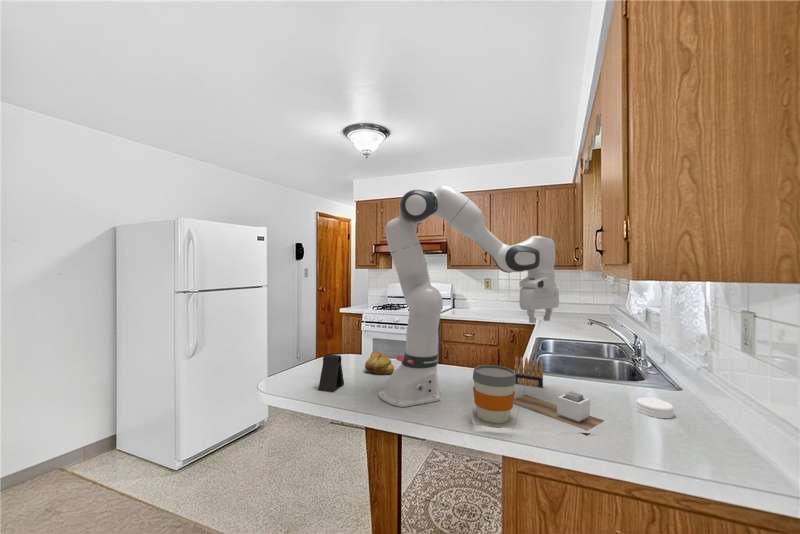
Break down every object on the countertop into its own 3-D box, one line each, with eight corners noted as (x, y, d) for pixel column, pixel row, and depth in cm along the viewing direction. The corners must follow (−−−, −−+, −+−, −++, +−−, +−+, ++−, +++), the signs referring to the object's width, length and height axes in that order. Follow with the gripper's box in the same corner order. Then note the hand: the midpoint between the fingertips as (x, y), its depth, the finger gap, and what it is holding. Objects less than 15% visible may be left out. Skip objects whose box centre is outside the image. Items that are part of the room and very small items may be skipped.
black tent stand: (333, 392, 130) (334, 358, 130) (318, 390, 131) (318, 357, 131) (344, 384, 138) (345, 353, 138) (329, 382, 140) (330, 351, 140)
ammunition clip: (543, 390, 138) (544, 358, 138) (542, 391, 136) (543, 359, 136) (513, 385, 142) (514, 355, 142) (512, 387, 141) (513, 356, 141)
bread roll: (398, 372, 156) (398, 353, 156) (384, 378, 148) (385, 358, 148) (374, 367, 163) (375, 349, 163) (360, 372, 155) (360, 353, 155)
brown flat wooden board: (587, 435, 101) (588, 405, 101) (506, 405, 122) (507, 380, 121) (604, 425, 108) (605, 396, 108) (525, 398, 128) (526, 374, 128)
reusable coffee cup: (509, 434, 101) (511, 380, 101) (465, 423, 107) (467, 372, 107) (518, 418, 112) (520, 369, 112) (478, 409, 118) (479, 362, 118)
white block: (579, 421, 105) (579, 401, 105) (557, 413, 110) (557, 395, 110) (589, 415, 109) (590, 397, 109) (567, 408, 115) (568, 390, 115)
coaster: (628, 409, 122) (629, 398, 122) (649, 405, 126) (649, 395, 126) (659, 421, 113) (659, 410, 113) (680, 417, 117) (681, 406, 117)
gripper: (547, 281, 137) (546, 318, 137) (516, 282, 124) (515, 322, 125) (564, 282, 132) (563, 320, 133) (533, 283, 120) (532, 325, 120)
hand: (539, 321), depth 128 cm, fingers open, 8 cm apart
